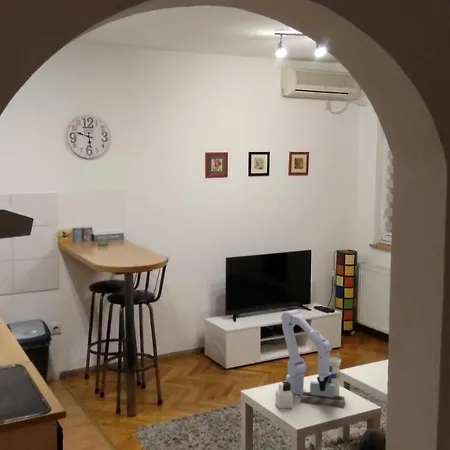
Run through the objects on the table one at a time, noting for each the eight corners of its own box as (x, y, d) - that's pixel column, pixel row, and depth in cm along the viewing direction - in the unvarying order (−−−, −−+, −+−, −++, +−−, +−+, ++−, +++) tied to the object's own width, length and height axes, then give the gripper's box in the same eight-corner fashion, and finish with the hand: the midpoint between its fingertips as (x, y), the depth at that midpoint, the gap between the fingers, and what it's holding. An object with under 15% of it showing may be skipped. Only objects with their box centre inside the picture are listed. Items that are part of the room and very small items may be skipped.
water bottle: (343, 394, 325) (345, 349, 322) (334, 399, 319) (336, 352, 316) (330, 390, 331) (332, 345, 328) (321, 394, 325) (323, 349, 322)
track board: (299, 401, 314) (300, 396, 314) (302, 396, 322) (302, 390, 322) (343, 407, 308) (343, 402, 308) (344, 401, 316) (344, 396, 315)
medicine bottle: (288, 402, 314) (289, 379, 312) (292, 408, 307) (293, 385, 305) (275, 402, 312) (276, 380, 311) (278, 408, 305) (279, 385, 304)
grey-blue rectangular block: (310, 394, 315) (310, 383, 314) (310, 392, 318) (311, 381, 317) (333, 397, 312) (333, 385, 311) (334, 395, 314) (334, 383, 314)
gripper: (330, 369, 305) (328, 395, 306) (333, 360, 318) (332, 385, 320) (315, 368, 307) (314, 393, 308) (319, 358, 320) (318, 383, 322)
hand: (322, 389), depth 314 cm, fingers closed on grey-blue rectangular block, 3 cm apart
